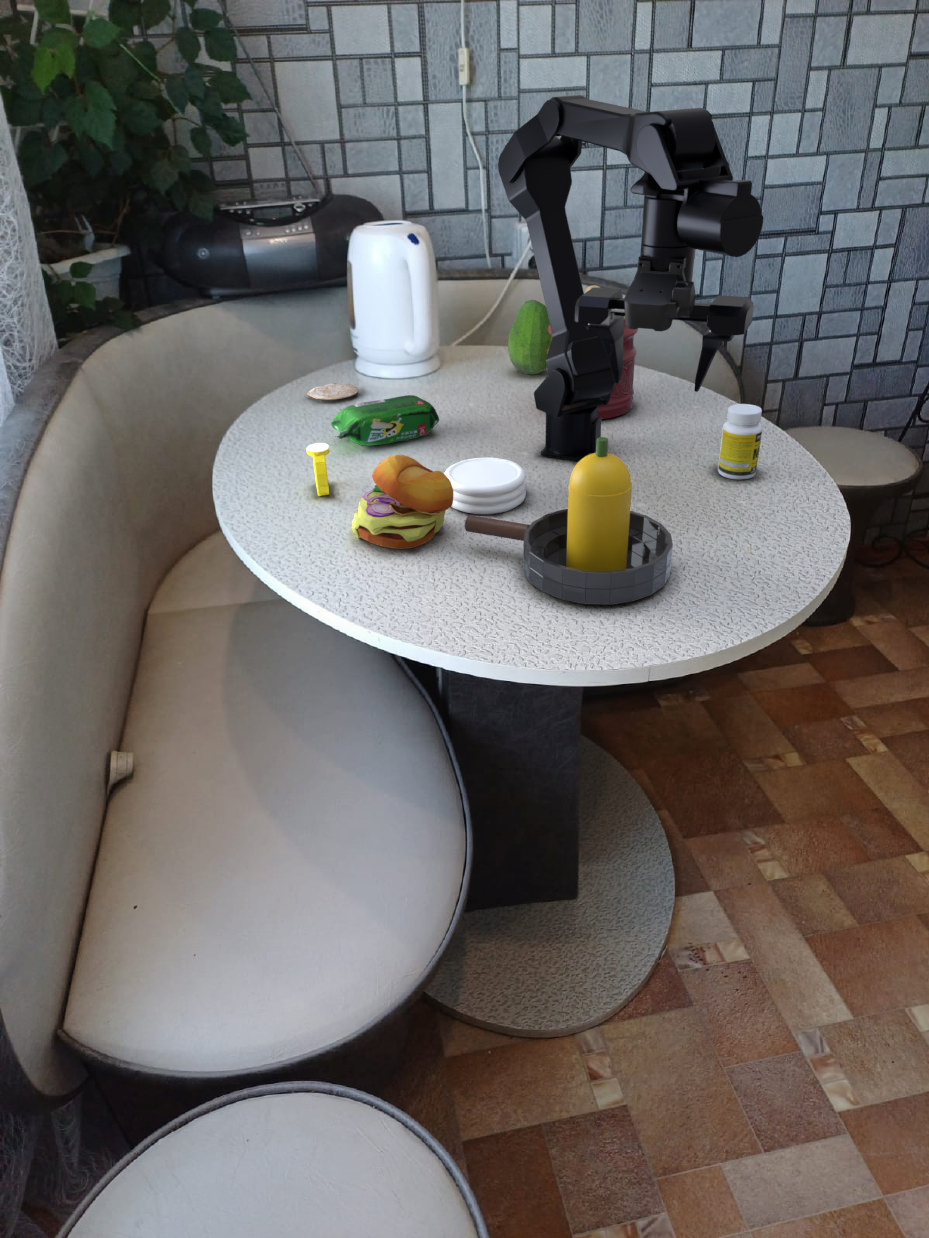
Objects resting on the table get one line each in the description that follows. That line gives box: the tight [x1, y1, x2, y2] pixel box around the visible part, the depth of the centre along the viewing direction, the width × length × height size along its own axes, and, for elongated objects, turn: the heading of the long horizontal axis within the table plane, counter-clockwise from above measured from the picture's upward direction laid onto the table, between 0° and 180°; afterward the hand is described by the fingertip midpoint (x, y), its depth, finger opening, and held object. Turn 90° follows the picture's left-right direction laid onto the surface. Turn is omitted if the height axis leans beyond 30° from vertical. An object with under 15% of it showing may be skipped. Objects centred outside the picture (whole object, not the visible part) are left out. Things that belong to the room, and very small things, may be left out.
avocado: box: [507, 299, 551, 376], centre depth 153 cm, size 8×8×12 cm
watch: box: [305, 442, 331, 497], centre depth 116 cm, size 6×3×6 cm, turn 12°
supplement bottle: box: [717, 403, 763, 480], centre depth 116 cm, size 5×5×8 cm
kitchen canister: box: [547, 284, 639, 420], centre depth 136 cm, size 13×13×18 cm
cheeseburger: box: [351, 454, 453, 550], centre depth 105 cm, size 10×11×10 cm
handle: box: [464, 514, 530, 542], centre depth 100 cm, size 7×2×2 cm, turn 66°
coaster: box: [443, 457, 527, 515], centre depth 113 cm, size 10×10×4 cm
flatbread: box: [306, 382, 360, 401], centre depth 149 cm, size 8×8×1 cm
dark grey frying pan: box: [522, 508, 674, 606], centre depth 97 cm, size 15×15×4 cm
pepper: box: [566, 436, 633, 571], centre depth 94 cm, size 6×6×14 cm
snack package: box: [330, 394, 440, 447], centre depth 131 cm, size 7×16×5 cm, turn 115°
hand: (656, 386), depth 108 cm, fingers open, 9 cm apart
